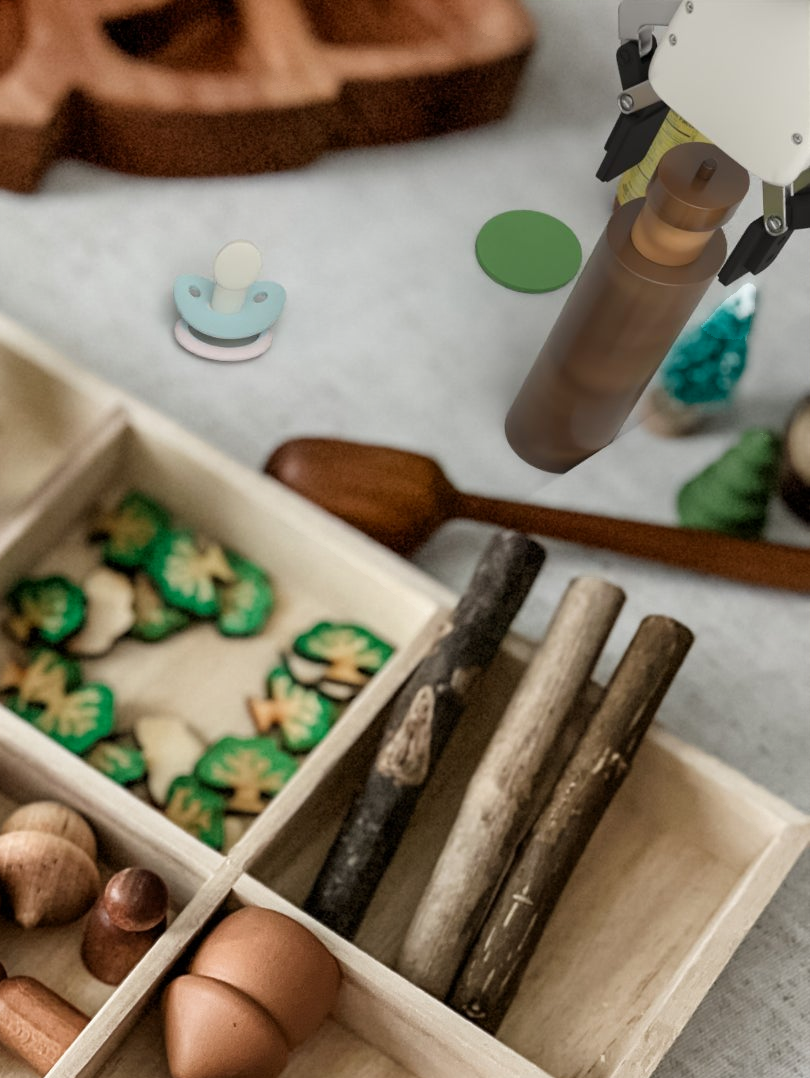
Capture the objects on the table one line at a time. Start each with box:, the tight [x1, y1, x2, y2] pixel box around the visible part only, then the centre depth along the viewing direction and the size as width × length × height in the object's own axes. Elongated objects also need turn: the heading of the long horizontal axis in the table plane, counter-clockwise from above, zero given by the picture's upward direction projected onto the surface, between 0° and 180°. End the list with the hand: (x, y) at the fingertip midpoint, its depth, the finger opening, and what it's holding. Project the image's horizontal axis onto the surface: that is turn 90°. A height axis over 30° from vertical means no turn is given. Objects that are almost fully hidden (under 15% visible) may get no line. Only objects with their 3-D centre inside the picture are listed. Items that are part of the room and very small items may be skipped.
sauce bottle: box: [612, 108, 715, 213], centre depth 106 cm, size 7×6×20 cm
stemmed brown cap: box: [631, 142, 751, 266], centre depth 91 cm, size 5×5×5 cm
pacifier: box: [172, 239, 287, 362], centre depth 109 cm, size 7×6×6 cm
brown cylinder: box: [504, 196, 728, 474], centre depth 101 cm, size 7×7×16 cm
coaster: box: [474, 209, 583, 294], centre depth 114 cm, size 7×7×1 cm
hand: (678, 219), depth 92 cm, fingers open, 8 cm apart
